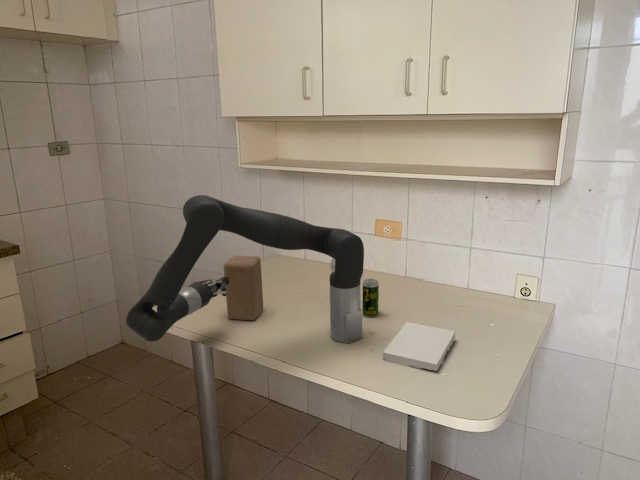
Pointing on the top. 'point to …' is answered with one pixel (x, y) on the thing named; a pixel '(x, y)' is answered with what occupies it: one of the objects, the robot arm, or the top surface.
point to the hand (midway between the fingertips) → (226, 279)
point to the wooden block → (244, 287)
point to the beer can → (370, 298)
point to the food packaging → (419, 346)
